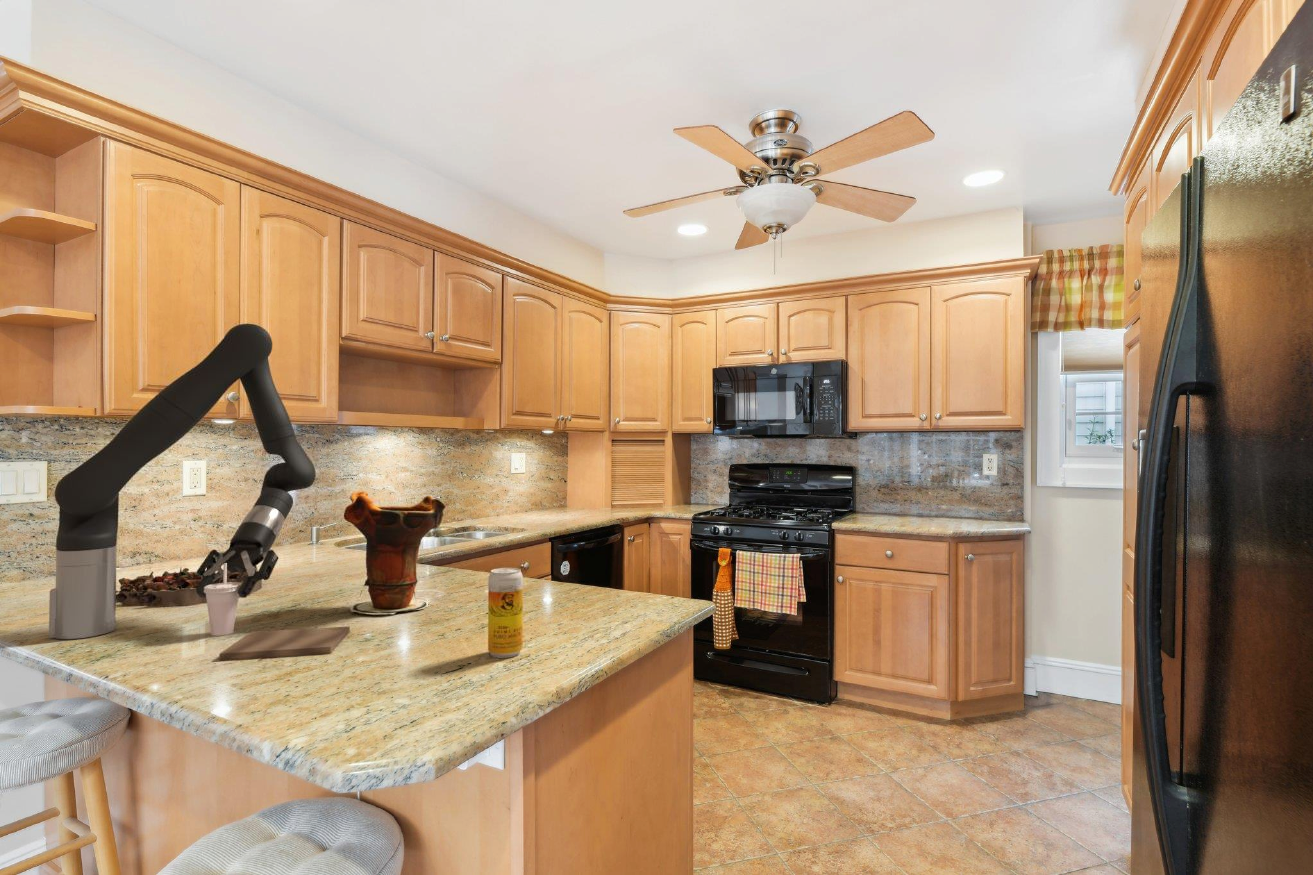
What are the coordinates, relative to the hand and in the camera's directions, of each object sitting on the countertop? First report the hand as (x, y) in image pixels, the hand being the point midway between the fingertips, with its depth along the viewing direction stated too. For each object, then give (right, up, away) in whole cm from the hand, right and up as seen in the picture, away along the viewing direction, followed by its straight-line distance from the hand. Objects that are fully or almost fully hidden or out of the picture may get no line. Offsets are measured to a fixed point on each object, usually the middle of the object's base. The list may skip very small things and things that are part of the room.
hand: (220, 595), depth 131 cm
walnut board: (+18, -8, -8) cm, 21 cm away
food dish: (-34, -9, +38) cm, 52 cm away
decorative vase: (+26, -8, +22) cm, 35 cm away
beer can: (+60, -8, -13) cm, 62 cm away
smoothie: (0, -8, 0) cm, 8 cm away
